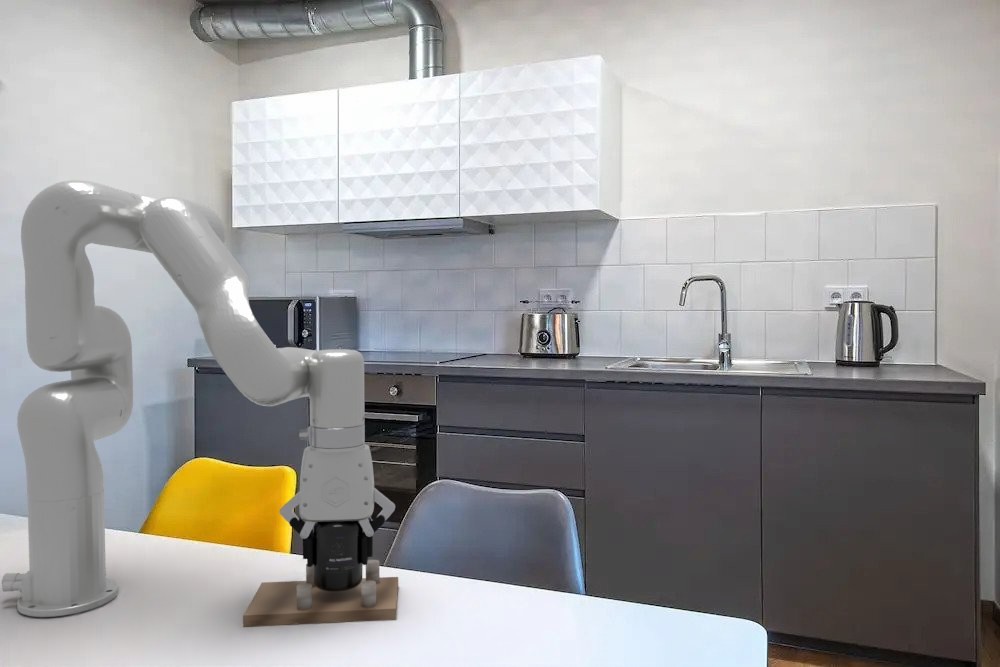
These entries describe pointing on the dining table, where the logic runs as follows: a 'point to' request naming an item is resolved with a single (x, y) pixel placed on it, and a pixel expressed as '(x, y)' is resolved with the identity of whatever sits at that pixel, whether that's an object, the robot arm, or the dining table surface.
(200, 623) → the dining table surface
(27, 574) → the robot arm
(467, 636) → the dining table surface
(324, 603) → the peg board
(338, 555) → the supplement bottle
